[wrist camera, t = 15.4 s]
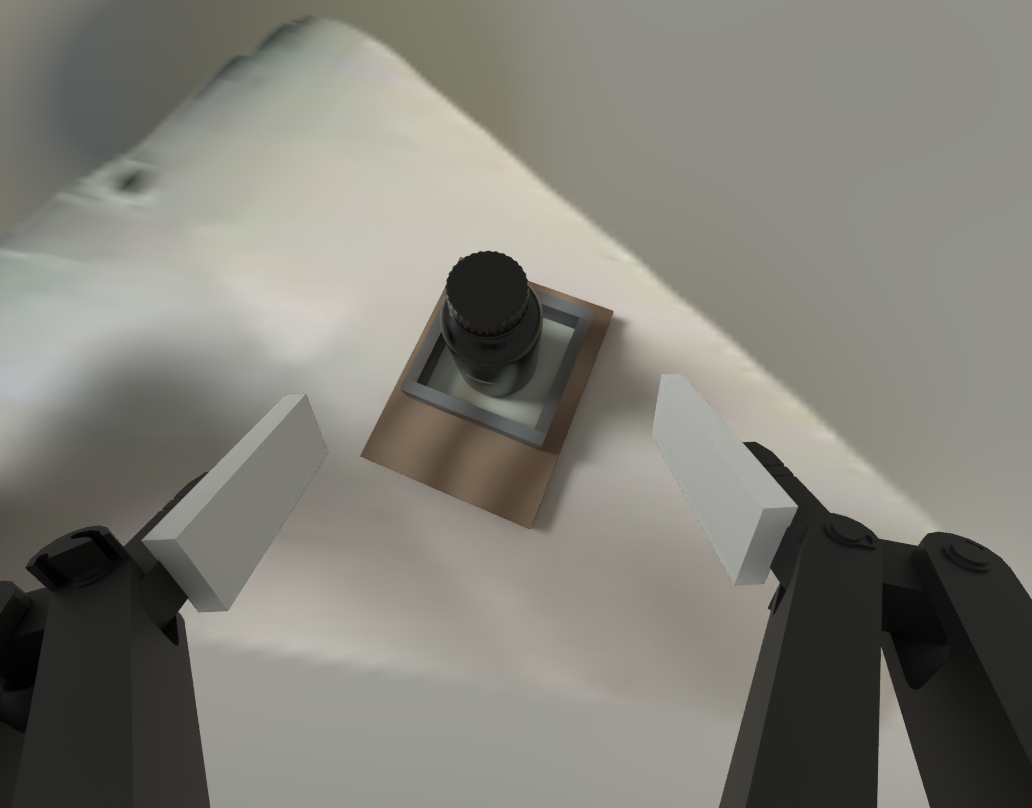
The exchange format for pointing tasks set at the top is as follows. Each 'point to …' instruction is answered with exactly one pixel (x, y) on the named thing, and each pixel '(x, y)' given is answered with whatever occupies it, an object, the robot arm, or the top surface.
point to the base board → (490, 414)
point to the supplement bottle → (492, 323)
